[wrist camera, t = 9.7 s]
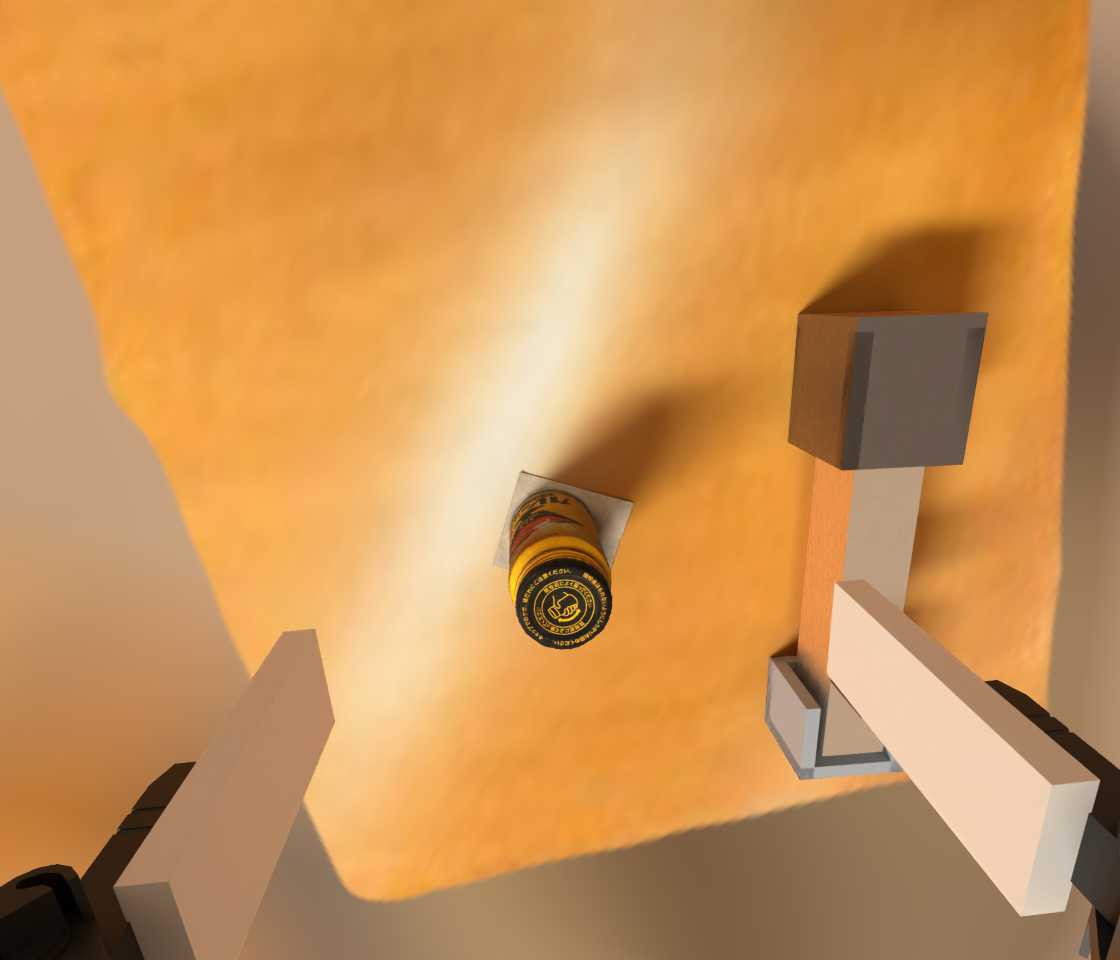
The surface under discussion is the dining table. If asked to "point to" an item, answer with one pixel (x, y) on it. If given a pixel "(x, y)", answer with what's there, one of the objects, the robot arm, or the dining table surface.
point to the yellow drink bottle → (561, 559)
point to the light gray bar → (852, 577)
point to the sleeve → (885, 387)
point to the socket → (810, 729)
